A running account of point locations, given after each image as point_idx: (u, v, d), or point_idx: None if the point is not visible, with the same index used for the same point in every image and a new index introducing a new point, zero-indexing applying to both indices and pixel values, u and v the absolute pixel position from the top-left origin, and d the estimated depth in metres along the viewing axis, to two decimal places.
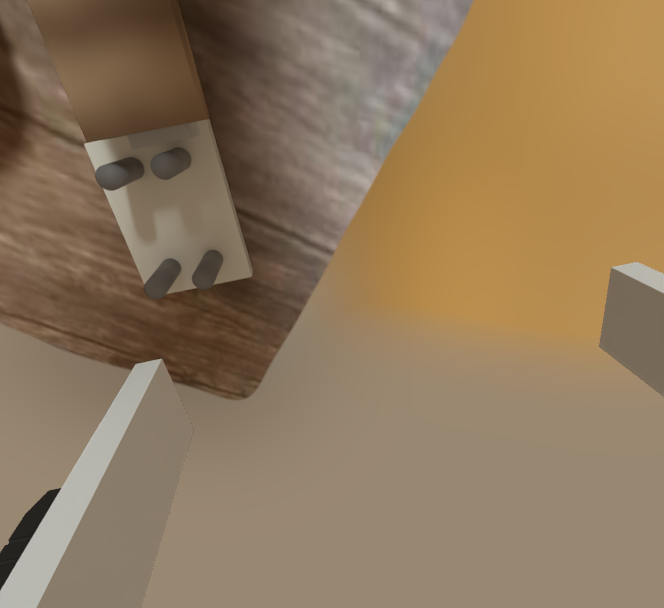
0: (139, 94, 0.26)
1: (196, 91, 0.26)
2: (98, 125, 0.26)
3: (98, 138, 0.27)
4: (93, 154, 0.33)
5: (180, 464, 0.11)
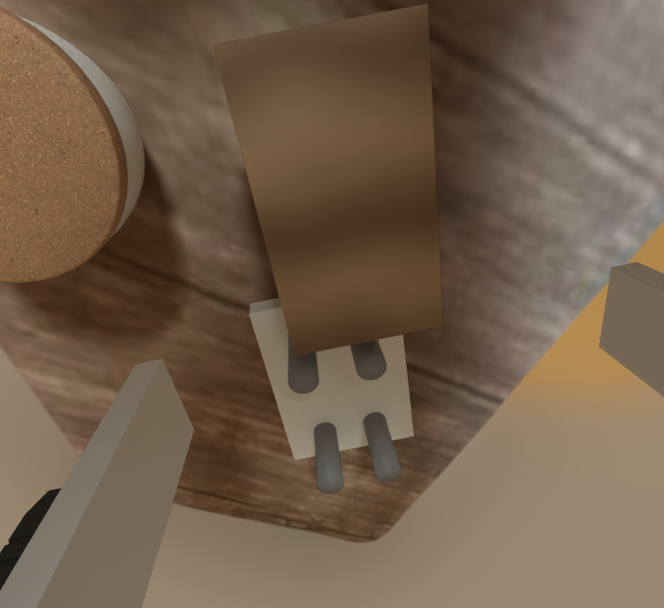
0: (372, 304, 0.20)
1: None
2: (312, 338, 0.21)
3: (309, 351, 0.21)
4: (257, 323, 0.27)
5: (180, 464, 0.11)
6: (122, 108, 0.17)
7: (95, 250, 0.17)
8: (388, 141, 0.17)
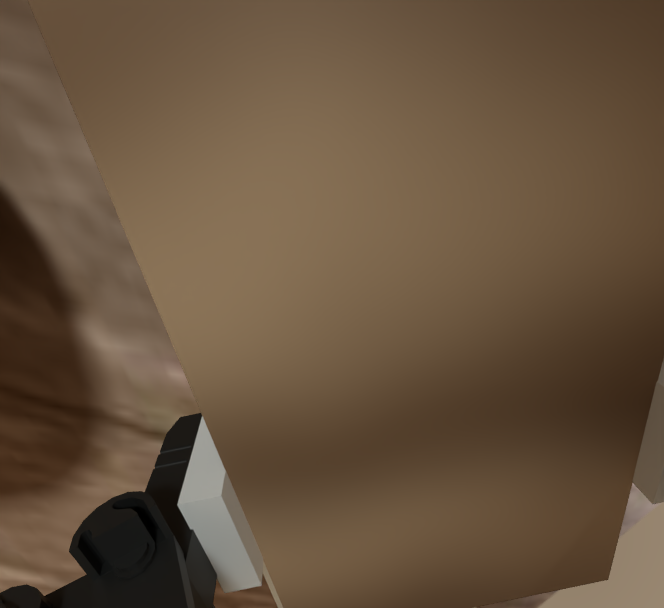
0: (470, 558, 0.09)
1: None
2: None
3: None
4: None
5: None
6: None
7: None
8: (571, 232, 0.06)
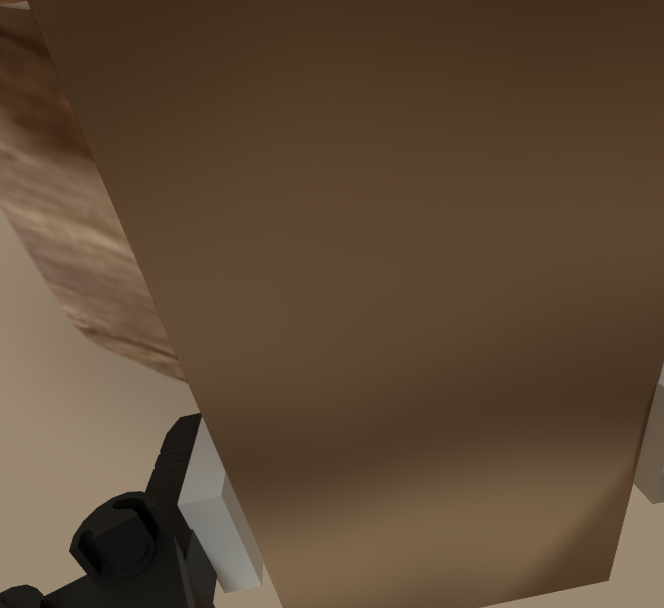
0: (470, 559, 0.09)
1: None
2: None
3: None
4: None
5: None
6: None
7: None
8: (572, 233, 0.06)
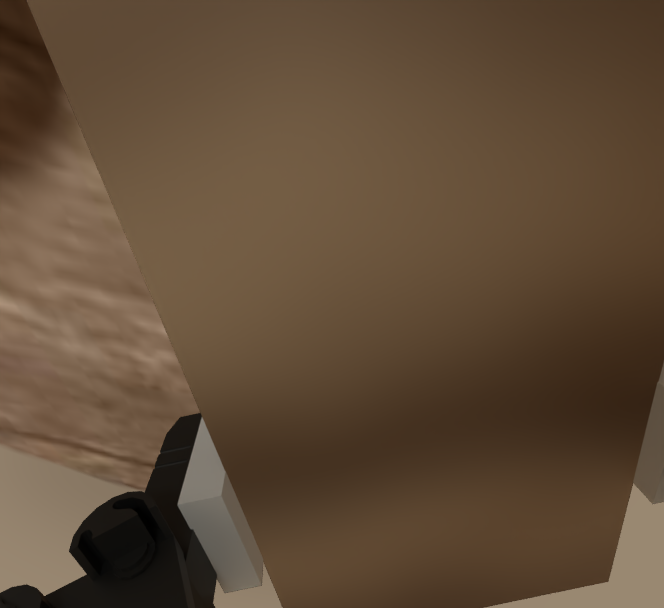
0: (470, 560, 0.09)
1: None
2: None
3: None
4: None
5: None
6: None
7: None
8: (571, 235, 0.06)
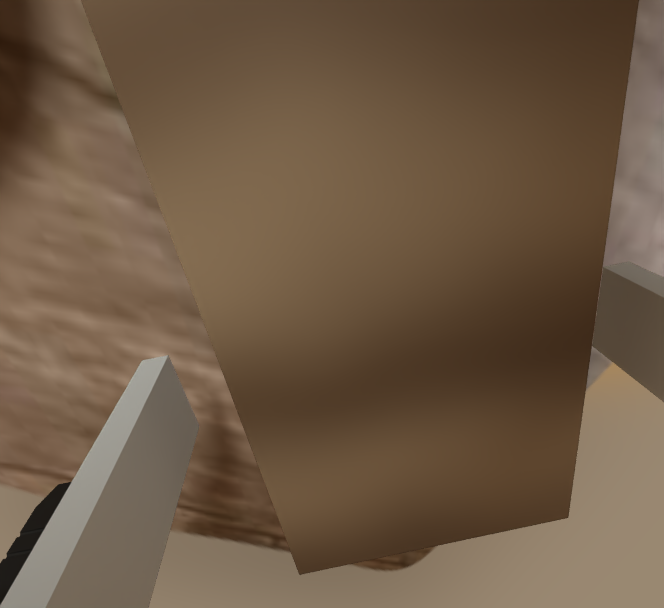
0: (445, 494, 0.11)
1: None
2: (333, 549, 0.11)
3: (326, 567, 0.12)
4: None
5: (186, 459, 0.11)
6: None
7: None
8: (510, 207, 0.07)
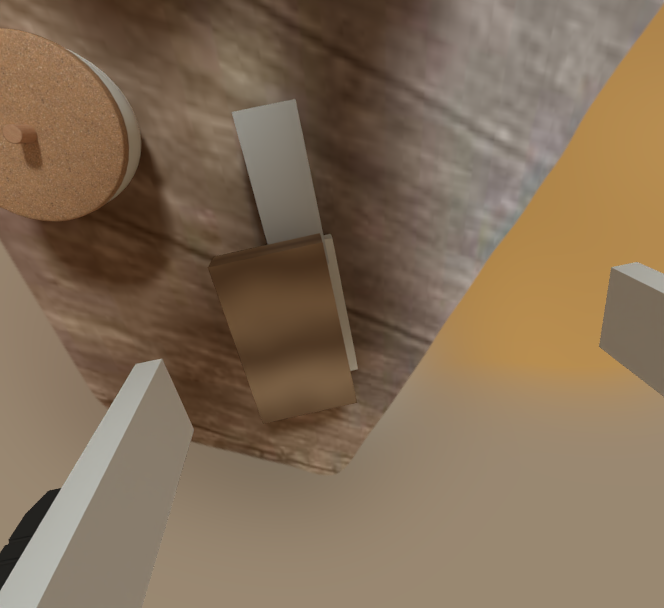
0: (309, 391, 0.32)
1: None
2: (273, 412, 0.33)
3: (272, 420, 0.33)
4: None
5: (180, 464, 0.11)
6: (125, 104, 0.26)
7: (107, 197, 0.26)
8: (308, 305, 0.29)
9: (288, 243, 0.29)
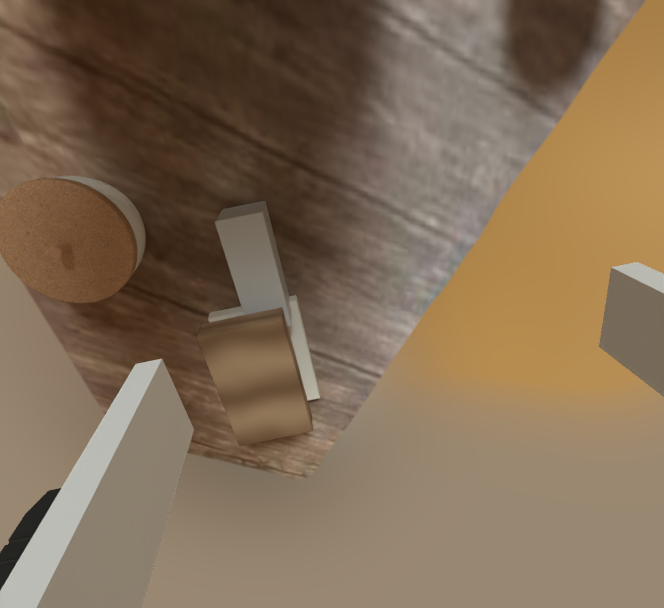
0: (275, 423, 0.42)
1: (309, 417, 0.42)
2: (248, 438, 0.42)
3: (247, 444, 0.43)
4: None
5: (180, 464, 0.11)
6: (134, 217, 0.35)
7: (121, 287, 0.35)
8: (273, 362, 0.39)
9: (257, 316, 0.38)
